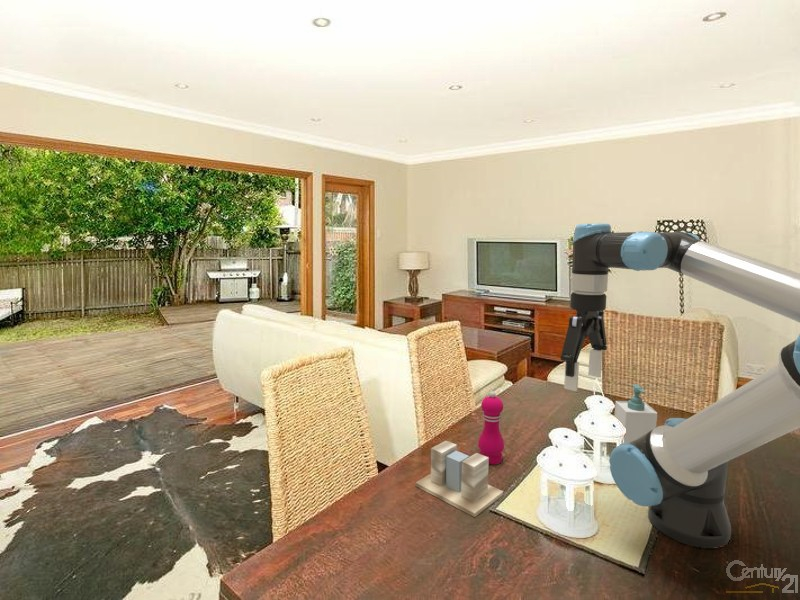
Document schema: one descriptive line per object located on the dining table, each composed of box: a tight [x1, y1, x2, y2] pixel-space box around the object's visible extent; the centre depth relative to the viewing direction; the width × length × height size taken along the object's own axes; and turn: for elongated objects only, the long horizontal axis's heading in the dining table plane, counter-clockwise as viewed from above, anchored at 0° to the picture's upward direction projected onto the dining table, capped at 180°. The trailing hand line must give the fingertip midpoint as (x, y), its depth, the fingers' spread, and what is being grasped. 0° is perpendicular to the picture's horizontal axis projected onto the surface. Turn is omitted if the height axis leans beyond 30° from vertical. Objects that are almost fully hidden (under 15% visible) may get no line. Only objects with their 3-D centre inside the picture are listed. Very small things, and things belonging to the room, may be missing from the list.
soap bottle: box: [614, 383, 658, 443], centre depth 132 cm, size 9×9×19 cm
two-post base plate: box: [415, 440, 504, 518], centre depth 110 cm, size 18×12×10 cm, turn 46°
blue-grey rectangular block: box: [446, 450, 470, 493], centre depth 110 cm, size 4×4×8 cm
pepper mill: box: [477, 390, 505, 465], centre depth 125 cm, size 7×7×20 cm
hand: (583, 382), depth 104 cm, fingers open, 13 cm apart
